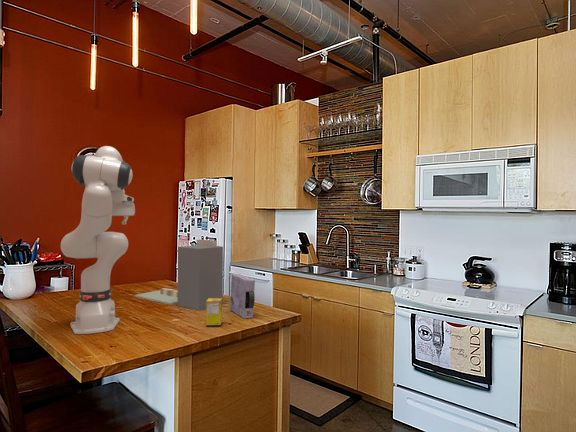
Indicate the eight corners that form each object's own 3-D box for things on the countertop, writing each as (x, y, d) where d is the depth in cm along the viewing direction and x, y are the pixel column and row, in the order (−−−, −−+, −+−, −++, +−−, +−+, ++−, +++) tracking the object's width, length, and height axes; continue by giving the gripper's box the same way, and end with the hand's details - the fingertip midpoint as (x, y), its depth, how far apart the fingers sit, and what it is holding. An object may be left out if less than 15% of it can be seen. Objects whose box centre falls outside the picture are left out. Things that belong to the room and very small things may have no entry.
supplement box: (222, 322, 168) (222, 297, 168) (220, 327, 162) (220, 300, 162) (208, 322, 168) (208, 297, 168) (206, 327, 162) (206, 300, 162)
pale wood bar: (196, 245, 207) (196, 239, 207) (200, 245, 209) (200, 239, 209) (212, 246, 200) (212, 240, 200) (216, 246, 202) (216, 240, 202)
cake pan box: (255, 318, 176) (255, 279, 176) (245, 320, 173) (245, 280, 173) (239, 309, 192) (239, 273, 192) (229, 310, 190) (229, 274, 190)
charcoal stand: (177, 305, 198) (177, 246, 198) (201, 300, 211) (201, 244, 211) (198, 310, 189) (199, 248, 189) (222, 304, 202) (222, 246, 202)
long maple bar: (160, 288, 222) (164, 287, 224) (160, 293, 222) (164, 293, 224) (183, 293, 210) (187, 292, 212) (183, 298, 210) (187, 297, 212)
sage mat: (134, 296, 218) (134, 294, 218) (161, 291, 233) (161, 289, 233) (170, 305, 200) (170, 303, 200) (197, 298, 214) (197, 297, 214)
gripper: (99, 197, 191) (99, 225, 191) (136, 198, 208) (136, 224, 208) (92, 197, 195) (92, 225, 195) (129, 198, 211) (129, 224, 211)
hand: (115, 224), depth 201 cm, fingers open, 8 cm apart
